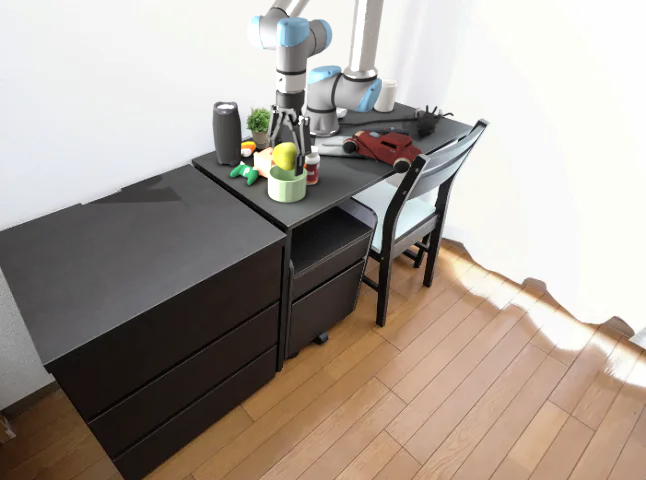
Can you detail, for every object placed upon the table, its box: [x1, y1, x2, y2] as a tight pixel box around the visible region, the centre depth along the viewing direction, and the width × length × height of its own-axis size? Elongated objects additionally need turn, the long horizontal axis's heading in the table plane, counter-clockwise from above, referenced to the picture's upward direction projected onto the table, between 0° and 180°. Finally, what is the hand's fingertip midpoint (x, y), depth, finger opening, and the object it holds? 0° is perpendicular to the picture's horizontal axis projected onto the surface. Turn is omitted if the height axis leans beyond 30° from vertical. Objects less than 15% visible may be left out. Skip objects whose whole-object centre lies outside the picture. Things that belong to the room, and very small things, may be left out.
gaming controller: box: [229, 161, 259, 186], centre depth 124 cm, size 9×4×6 cm
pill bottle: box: [304, 145, 321, 186], centre depth 119 cm, size 6×6×11 cm
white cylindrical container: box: [373, 78, 399, 113], centre depth 164 cm, size 8×8×12 cm
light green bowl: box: [267, 165, 307, 203], centre depth 115 cm, size 12×12×7 cm
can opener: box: [360, 127, 410, 137], centre depth 142 cm, size 18×7×6 cm, turn 71°
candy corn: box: [241, 140, 257, 158], centre depth 137 cm, size 6×3×8 cm
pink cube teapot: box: [253, 147, 276, 179], centre depth 124 cm, size 8×12×8 cm, turn 51°
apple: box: [272, 141, 297, 171], centre depth 110 cm, size 8×9×8 cm
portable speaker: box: [211, 101, 243, 167], centre depth 127 cm, size 9×9×20 cm
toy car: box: [342, 129, 423, 175], centre depth 129 cm, size 15×28×10 cm, turn 47°
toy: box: [414, 104, 444, 137], centre depth 152 cm, size 11×6×30 cm
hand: (287, 168), depth 112 cm, fingers closed on apple, 9 cm apart
